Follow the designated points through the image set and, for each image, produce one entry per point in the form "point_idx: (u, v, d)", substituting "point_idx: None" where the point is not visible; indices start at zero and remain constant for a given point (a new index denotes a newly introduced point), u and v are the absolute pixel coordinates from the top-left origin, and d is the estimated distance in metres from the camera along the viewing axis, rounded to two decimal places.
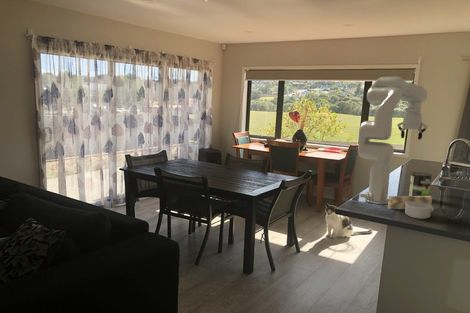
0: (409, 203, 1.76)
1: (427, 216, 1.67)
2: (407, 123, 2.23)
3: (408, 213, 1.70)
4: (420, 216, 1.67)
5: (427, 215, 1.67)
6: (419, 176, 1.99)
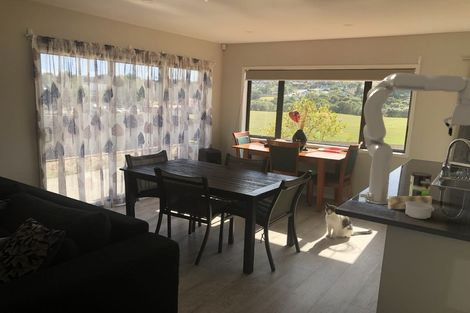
0: (409, 203, 1.76)
1: (428, 216, 1.67)
2: None
3: (408, 213, 1.70)
4: (420, 216, 1.67)
5: (427, 215, 1.67)
6: (419, 176, 1.99)
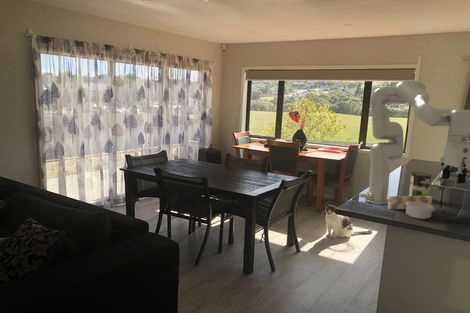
0: (410, 203, 1.76)
1: (428, 216, 1.67)
2: None
3: (409, 213, 1.70)
4: (421, 216, 1.67)
5: (428, 215, 1.67)
6: (419, 176, 1.99)
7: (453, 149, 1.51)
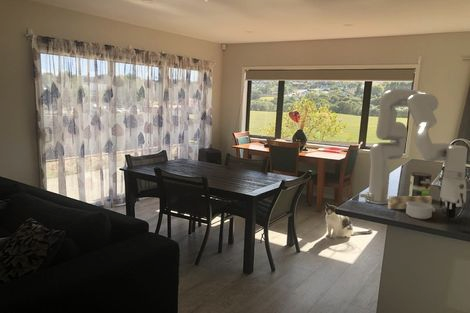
0: (410, 203, 1.76)
1: (429, 216, 1.67)
2: None
3: (409, 213, 1.70)
4: (421, 216, 1.67)
5: (428, 215, 1.67)
6: (419, 176, 1.99)
7: (449, 185, 1.53)
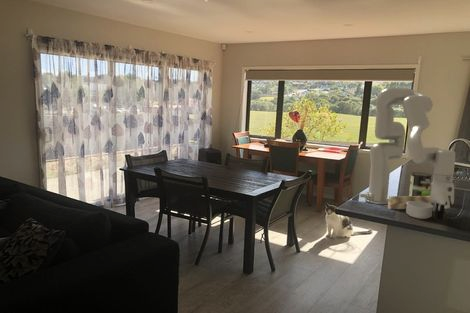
0: (410, 203, 1.76)
1: (429, 215, 1.67)
2: None
3: (409, 213, 1.70)
4: (421, 216, 1.67)
5: (428, 215, 1.67)
6: (419, 176, 1.99)
7: (438, 187, 1.60)
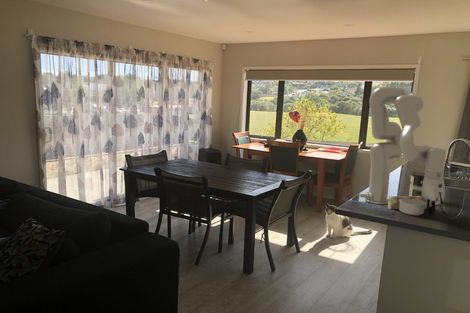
0: (402, 200, 1.81)
1: (422, 212, 1.73)
2: None
3: (403, 210, 1.75)
4: (415, 213, 1.72)
5: (422, 211, 1.73)
6: (419, 176, 1.99)
7: (429, 184, 1.66)
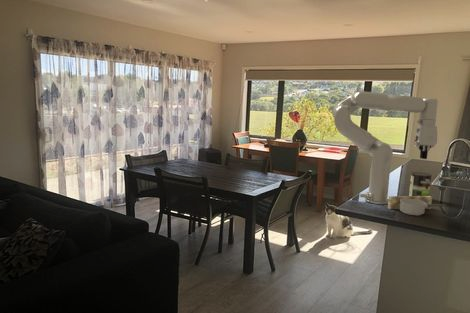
0: (402, 200, 1.81)
1: (422, 212, 1.73)
2: (425, 138, 1.86)
3: (404, 210, 1.75)
4: (416, 213, 1.72)
5: (422, 211, 1.72)
6: (419, 176, 1.99)
7: None
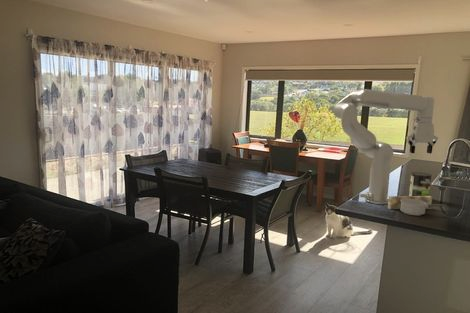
0: (403, 200, 1.81)
1: (423, 212, 1.73)
2: (422, 136, 1.91)
3: (405, 210, 1.75)
4: (417, 213, 1.72)
5: (423, 211, 1.72)
6: (419, 176, 1.99)
7: None
